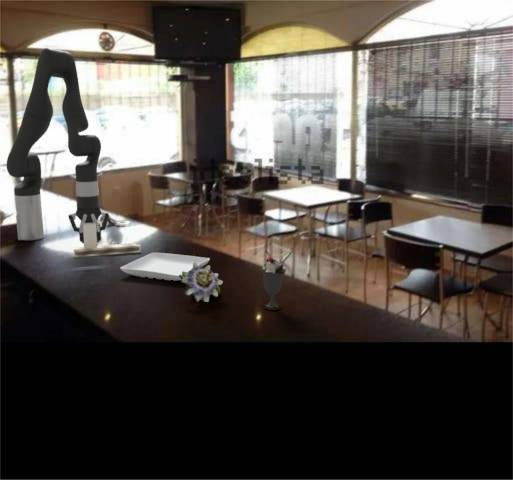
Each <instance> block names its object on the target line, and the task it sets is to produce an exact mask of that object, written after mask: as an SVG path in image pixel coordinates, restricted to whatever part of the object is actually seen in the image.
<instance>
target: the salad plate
mask: <svg viewBox="0 0 513 480" xmlns="http://www.w3.org/2000/svg"><path fill="white" fill-rule="evenodd" d="M209 261H211V259H210V257H202V256H196V255H195V256H193V255H186V254H185V255H184V254H175V253H166V252H151V253H148V254H147V255H144V256H142V257H139V258H136V260H133V261H131V262H129V263H127V264H124V265H123V266H120V270H121V271H122V272H124V273H125V274H128V275H131V276H135V277H138V276H139V277H138V278H145V277H148V278H147V279H153V278H156V279H155V280H162V279H164V281H171V280H173V281H172V282H174V281H175V282H176V281H178V282H179V281H181V280H182V279H181V278H180V277H179V275H180V274H181V276H182V272H183V271H184V272H188V271H191V269H193V264H194V262H195V263H197V264H198V266H199V267H200V266H202V268H204V266H206V265H207V264H208V263H209ZM187 275H188V273H187V274H185V276H186V277H187ZM183 278H184V276H183Z"/></svg>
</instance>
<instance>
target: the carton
mask: <svg viewBox="0 0 513 480" xmlns="http://www.w3.org/2000/svg"><path fill="white" fill-rule="evenodd" d="M83 235H84V243H83V247H84V249H89V248H97V246H98V242H97V228H96V223H94V222H92V223H83Z"/></svg>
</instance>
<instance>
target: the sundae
mask: <svg viewBox="0 0 513 480" xmlns="http://www.w3.org/2000/svg"><path fill="white" fill-rule="evenodd" d="M264 252H265V253H267V255H268V258H266V260H265V263H264V264H263V266H262V268H259V273H261V275H262V278H263V286H264V289H265V292H266V293H267V294H268V295H269V296H270V297H269V298H270V301H269V303H267V304H268V305H266V304H265V305H266V306H267V307H269V308H270V307H271V308H273V307H278V305H277V304H278V303H276V295H277V294H279V293H280V292H281V289H282V284H283V277H284V275H285V273H286V271H287V270H286V268H284V264H283V263H282V264H281V263H280V262H279V261H278V260H277V259H274V258H273V257H271V255H270V252H268V250H264ZM280 264H281V265H280Z"/></svg>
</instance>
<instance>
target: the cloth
mask: <svg viewBox="0 0 513 480" xmlns="http://www.w3.org/2000/svg"><path fill="white" fill-rule="evenodd" d="M104 212H105V213H106V212H107V211H104ZM98 221H100V222H101V226H102V222H103V218H102V215H100V216H99V219H98ZM130 224H131V222H130V221H128V220H117V219H114V218H113V217H112V216H111V215H110V214H109V217H108V221H107V224H106V227H107V228H108V227H110V226H113V225H114V227H120V226H125V227H126V226H127V228H128V226H129V227H130ZM125 227H124V228H125ZM105 230H107V229H106V228H105Z"/></svg>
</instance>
